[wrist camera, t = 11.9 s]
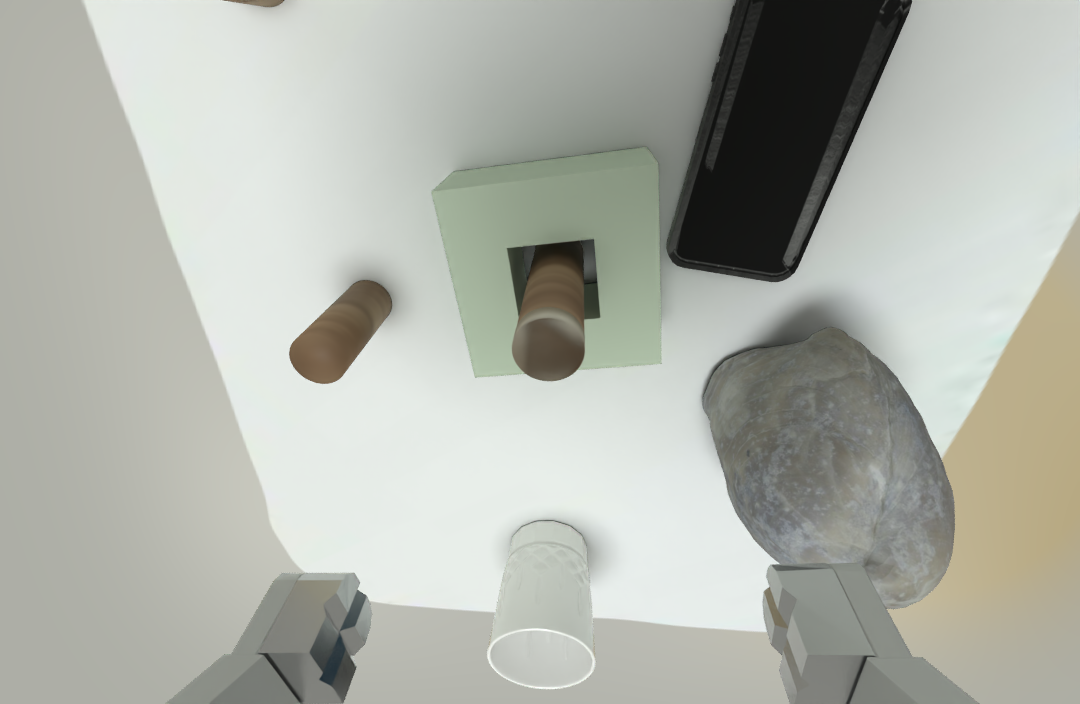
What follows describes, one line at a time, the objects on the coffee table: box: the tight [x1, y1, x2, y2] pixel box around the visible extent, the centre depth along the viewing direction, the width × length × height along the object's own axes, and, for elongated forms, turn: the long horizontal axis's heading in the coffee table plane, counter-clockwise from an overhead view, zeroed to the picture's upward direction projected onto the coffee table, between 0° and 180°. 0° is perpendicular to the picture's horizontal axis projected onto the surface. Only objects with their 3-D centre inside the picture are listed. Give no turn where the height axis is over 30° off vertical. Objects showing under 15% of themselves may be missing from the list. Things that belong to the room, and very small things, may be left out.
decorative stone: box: [703, 327, 955, 609], centre depth 29 cm, size 15×10×15 cm
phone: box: [667, 0, 912, 282], centre depth 27 cm, size 8×1×15 cm
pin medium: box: [289, 280, 392, 384], centre depth 30 cm, size 3×3×8 cm
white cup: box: [487, 521, 596, 689], centre depth 41 cm, size 8×8×10 cm
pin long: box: [512, 240, 585, 381], centre depth 26 cm, size 3×3×12 cm
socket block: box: [431, 147, 661, 378], centre depth 29 cm, size 11×11×5 cm
